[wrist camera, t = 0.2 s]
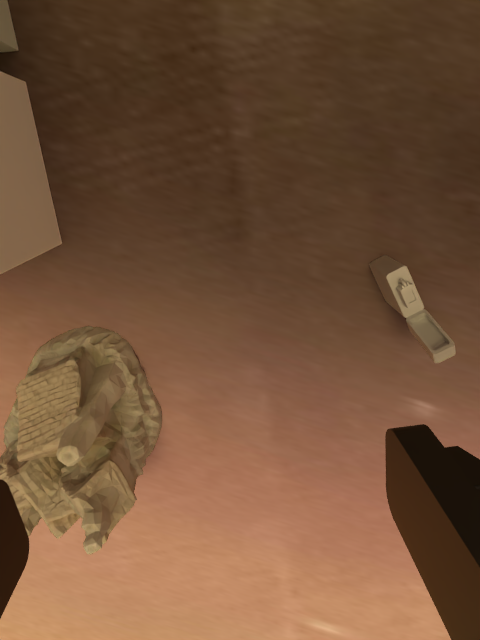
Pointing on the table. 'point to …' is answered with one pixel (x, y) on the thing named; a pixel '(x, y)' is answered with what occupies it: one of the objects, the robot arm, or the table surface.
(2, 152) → the white stand
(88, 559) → the table surface
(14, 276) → the table surface
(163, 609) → the table surface
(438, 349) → the lighter
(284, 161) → the table surface
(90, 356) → the ceramic cottage
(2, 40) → the beige rectangular block
